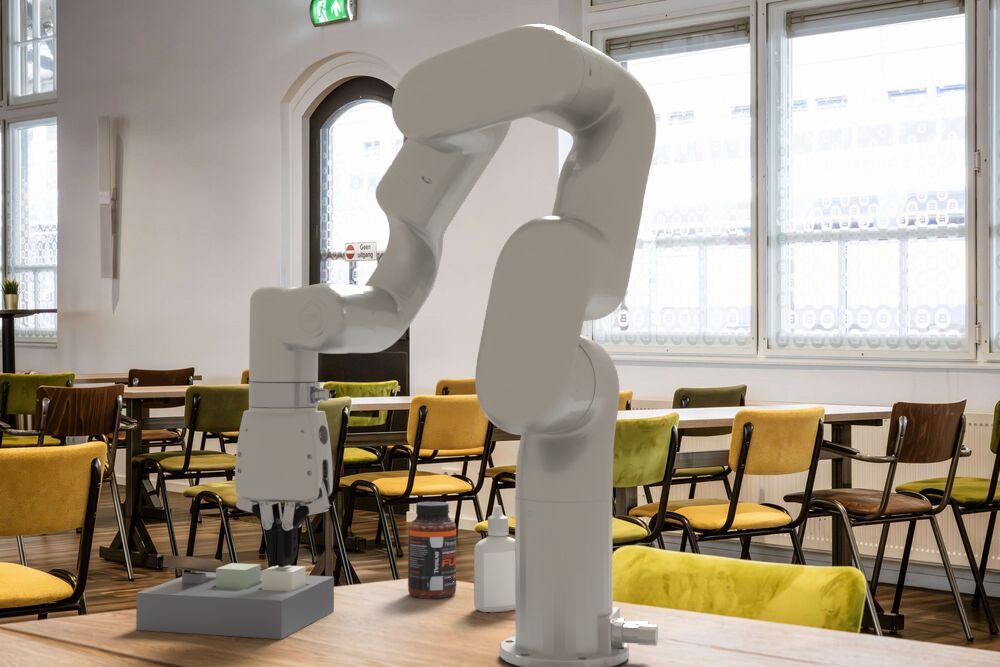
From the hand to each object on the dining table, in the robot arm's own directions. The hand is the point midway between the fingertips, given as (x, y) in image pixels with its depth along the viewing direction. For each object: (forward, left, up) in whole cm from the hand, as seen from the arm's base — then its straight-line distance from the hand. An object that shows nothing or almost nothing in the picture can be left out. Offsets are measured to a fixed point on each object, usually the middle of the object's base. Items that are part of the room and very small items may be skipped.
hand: (281, 564), depth 134 cm
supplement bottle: (-11, -19, -7) cm, 23 cm away
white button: (0, 0, -4) cm, 4 cm away
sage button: (+5, 0, -4) cm, 6 cm away
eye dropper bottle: (-21, -13, -7) cm, 26 cm away
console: (+5, 0, -6) cm, 8 cm away
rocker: (+11, 0, -1) cm, 11 cm away
